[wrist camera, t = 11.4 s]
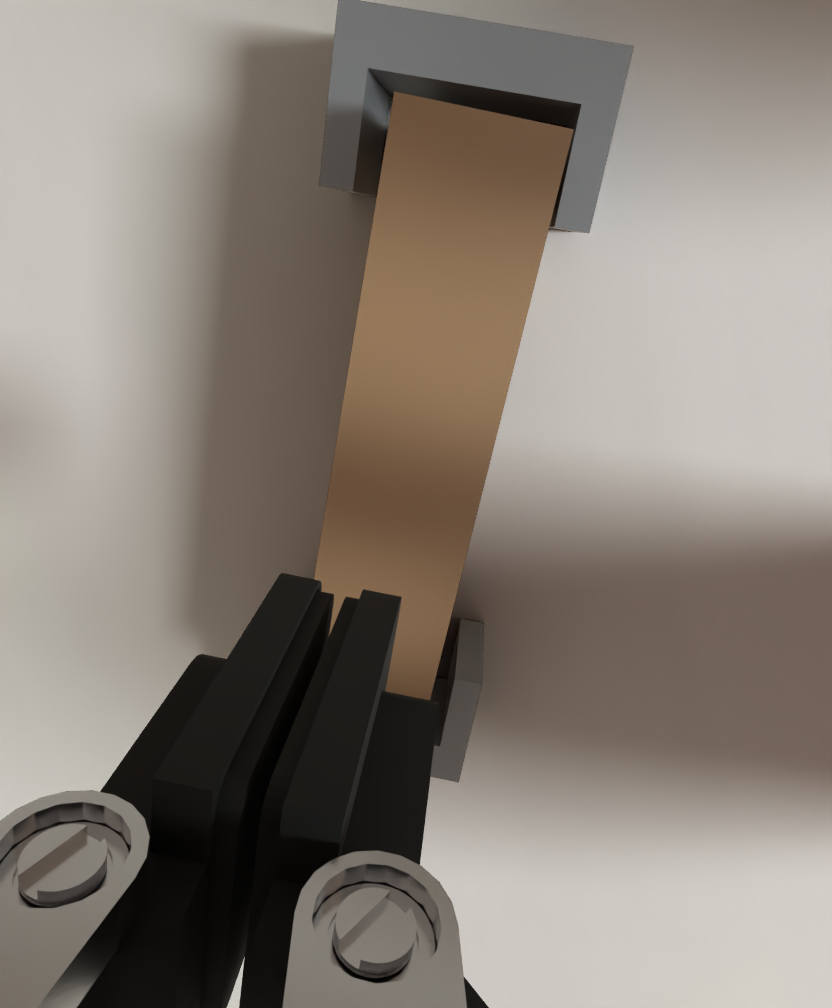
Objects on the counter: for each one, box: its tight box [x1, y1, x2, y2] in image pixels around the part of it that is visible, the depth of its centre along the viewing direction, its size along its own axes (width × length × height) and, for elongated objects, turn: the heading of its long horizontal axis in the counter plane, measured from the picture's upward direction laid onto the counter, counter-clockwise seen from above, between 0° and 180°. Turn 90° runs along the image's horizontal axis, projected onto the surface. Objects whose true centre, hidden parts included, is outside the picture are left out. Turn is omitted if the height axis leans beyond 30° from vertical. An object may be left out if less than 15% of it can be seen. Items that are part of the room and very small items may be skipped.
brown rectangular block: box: [314, 91, 574, 700], centre depth 19 cm, size 16×4×6 cm, turn 169°
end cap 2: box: [430, 619, 484, 782], centre depth 23 cm, size 4×6×4 cm, turn 81°
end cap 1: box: [319, 0, 634, 233], centre depth 17 cm, size 4×6×4 cm, turn 81°
